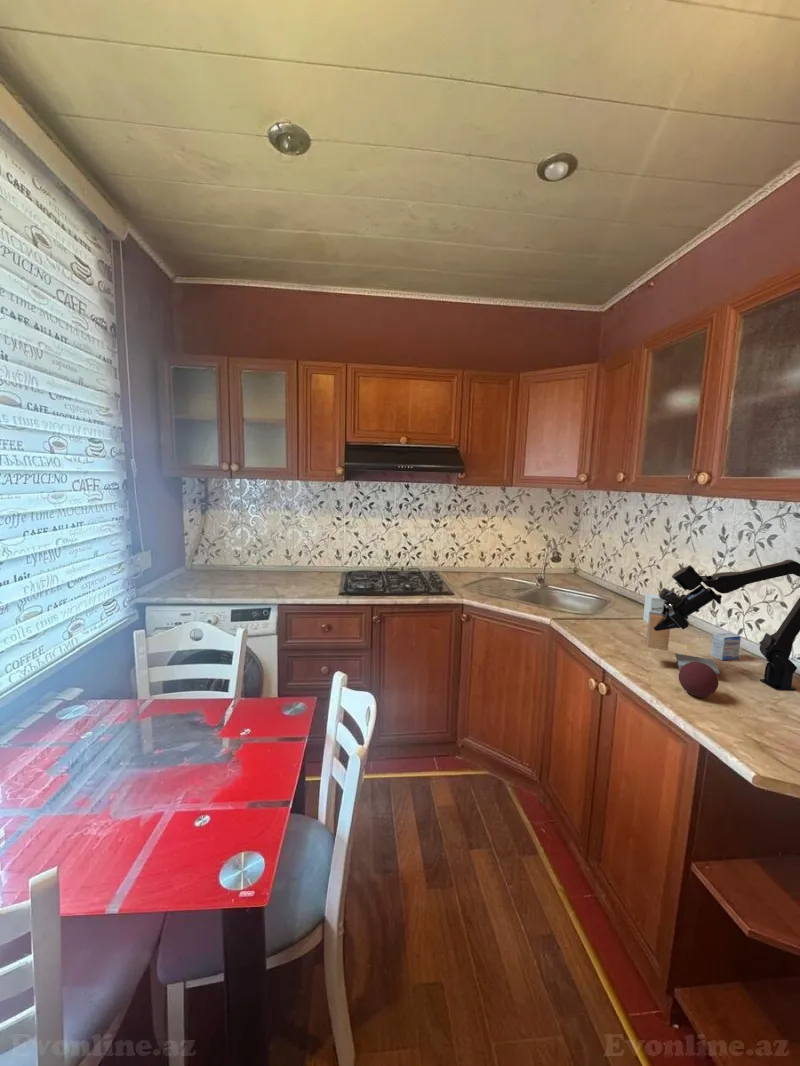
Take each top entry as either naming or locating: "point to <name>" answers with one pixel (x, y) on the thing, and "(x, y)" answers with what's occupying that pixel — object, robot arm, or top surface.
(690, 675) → the decorative ball
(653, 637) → the two-tone metal block
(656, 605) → the supplement box
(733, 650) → the medicine box
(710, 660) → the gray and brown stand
